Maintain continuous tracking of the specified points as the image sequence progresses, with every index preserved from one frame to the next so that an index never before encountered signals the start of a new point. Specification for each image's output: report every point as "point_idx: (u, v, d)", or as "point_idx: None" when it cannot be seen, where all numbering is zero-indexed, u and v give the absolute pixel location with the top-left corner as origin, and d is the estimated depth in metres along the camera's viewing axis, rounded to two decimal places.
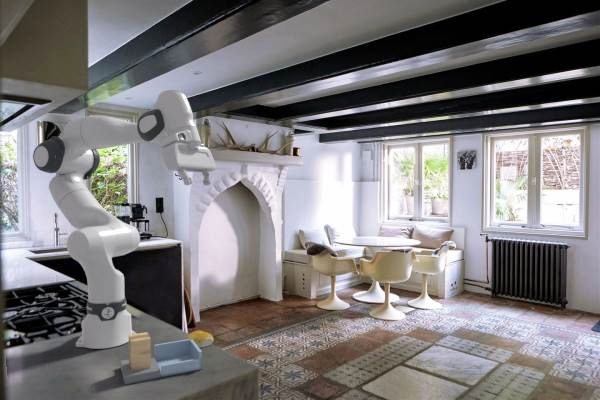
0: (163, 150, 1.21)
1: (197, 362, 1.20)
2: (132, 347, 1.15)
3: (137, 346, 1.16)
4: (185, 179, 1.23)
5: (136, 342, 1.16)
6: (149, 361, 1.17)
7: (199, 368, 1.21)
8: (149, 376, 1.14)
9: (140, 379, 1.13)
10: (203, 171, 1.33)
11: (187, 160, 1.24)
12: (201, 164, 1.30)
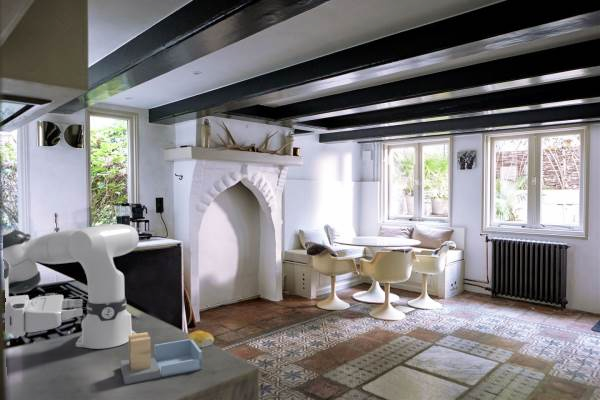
0: (30, 329, 0.99)
1: (197, 362, 1.20)
2: (132, 347, 1.15)
3: (137, 346, 1.16)
4: (75, 313, 1.07)
5: (136, 342, 1.16)
6: (149, 361, 1.17)
7: (199, 368, 1.21)
8: (149, 376, 1.14)
9: (140, 379, 1.13)
10: (63, 305, 1.15)
11: (51, 307, 1.05)
12: (57, 301, 1.11)
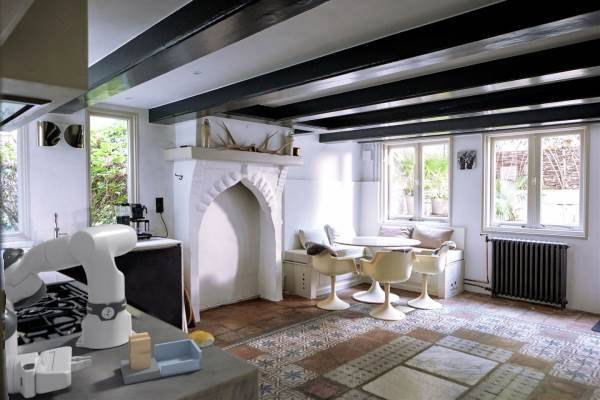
0: (41, 390, 1.00)
1: (197, 362, 1.20)
2: (132, 347, 1.15)
3: (137, 346, 1.16)
4: (84, 364, 1.11)
5: (136, 342, 1.16)
6: (149, 361, 1.17)
7: (199, 368, 1.21)
8: (149, 376, 1.14)
9: (140, 379, 1.13)
10: None
11: (61, 365, 1.06)
12: (66, 355, 1.12)
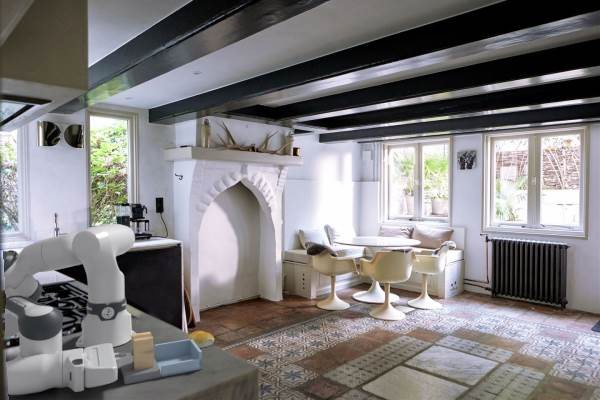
0: (90, 384, 1.04)
1: (197, 362, 1.20)
2: (135, 346, 1.15)
3: (140, 345, 1.16)
4: (127, 360, 1.15)
5: (139, 342, 1.16)
6: (152, 360, 1.18)
7: (199, 368, 1.21)
8: (149, 376, 1.14)
9: (140, 379, 1.13)
10: None
11: (106, 361, 1.10)
12: (109, 352, 1.16)
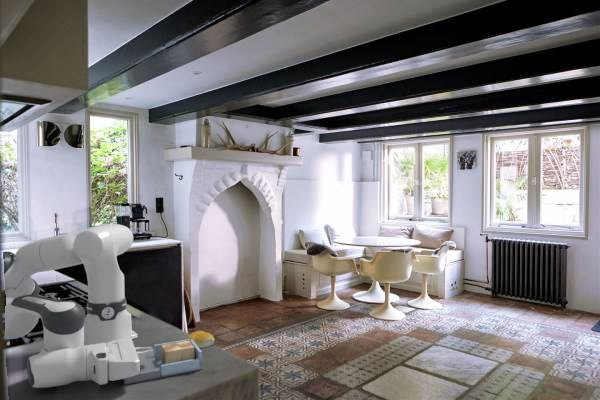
0: (114, 377, 1.07)
1: (197, 362, 1.20)
2: (188, 349, 1.22)
3: (188, 353, 1.22)
4: (148, 354, 1.18)
5: (192, 352, 1.23)
6: None
7: (199, 368, 1.21)
8: (149, 376, 1.14)
9: (140, 379, 1.13)
10: None
11: (128, 355, 1.13)
12: (130, 346, 1.19)
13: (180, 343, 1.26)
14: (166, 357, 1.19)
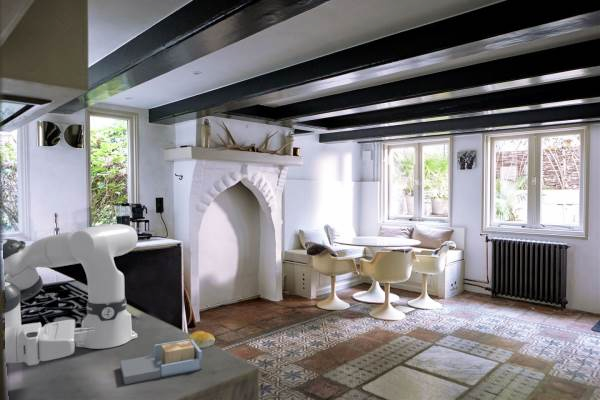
0: (44, 357, 1.00)
1: (197, 362, 1.20)
2: (188, 349, 1.22)
3: (188, 353, 1.22)
4: (88, 334, 1.11)
5: (192, 352, 1.23)
6: None
7: (199, 368, 1.21)
8: (149, 376, 1.14)
9: (140, 379, 1.13)
10: None
11: (64, 334, 1.06)
12: (69, 327, 1.12)
13: (180, 343, 1.26)
14: (166, 357, 1.19)
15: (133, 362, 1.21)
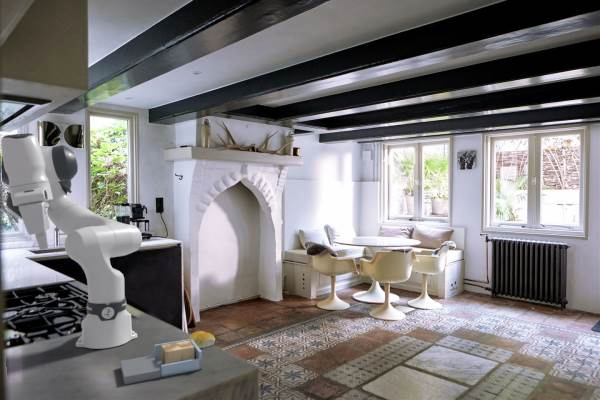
0: (23, 209, 1.01)
1: (197, 362, 1.20)
2: (188, 349, 1.22)
3: (188, 353, 1.22)
4: (42, 243, 1.09)
5: (192, 352, 1.23)
6: None
7: (199, 368, 1.21)
8: (149, 376, 1.14)
9: (140, 379, 1.13)
10: None
11: (45, 222, 1.07)
12: (47, 225, 1.12)
13: (180, 343, 1.26)
14: (166, 357, 1.19)
15: (133, 362, 1.21)
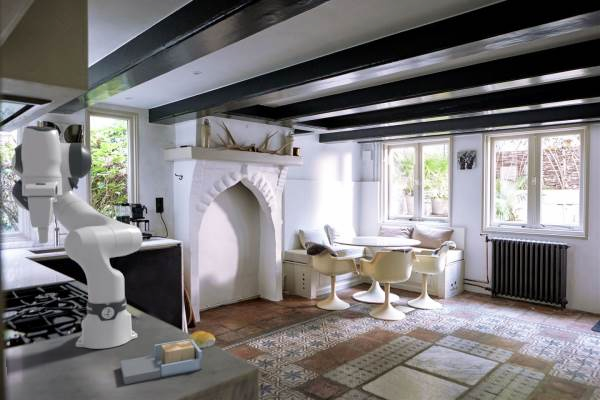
0: (32, 202, 1.01)
1: (197, 362, 1.20)
2: (188, 349, 1.22)
3: (188, 353, 1.22)
4: (43, 237, 1.09)
5: (192, 352, 1.23)
6: None
7: (199, 368, 1.21)
8: (149, 376, 1.14)
9: (140, 379, 1.13)
10: None
11: (50, 217, 1.07)
12: None
13: (180, 343, 1.26)
14: (166, 357, 1.19)
15: (133, 362, 1.21)
